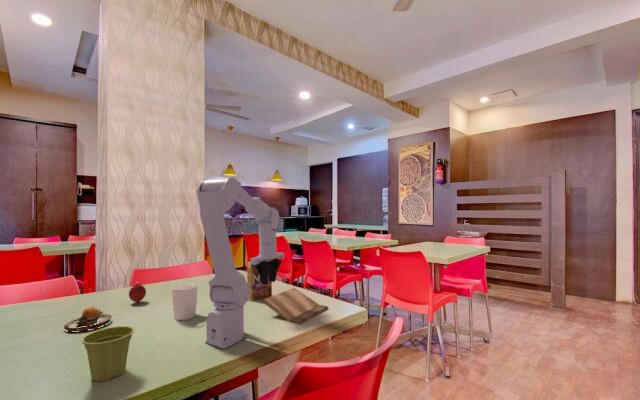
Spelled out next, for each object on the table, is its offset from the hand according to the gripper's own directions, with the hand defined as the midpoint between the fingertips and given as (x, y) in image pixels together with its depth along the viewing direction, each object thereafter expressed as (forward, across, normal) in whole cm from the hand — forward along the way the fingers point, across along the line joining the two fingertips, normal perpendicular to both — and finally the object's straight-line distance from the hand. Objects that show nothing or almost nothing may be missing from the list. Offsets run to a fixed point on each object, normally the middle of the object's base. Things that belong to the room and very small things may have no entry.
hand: (268, 282), depth 103 cm
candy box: (+11, -10, -14) cm, 20 cm away
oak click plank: (+8, -4, +7) cm, 11 cm away
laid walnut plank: (+10, -4, +14) cm, 18 cm away
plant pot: (+11, +46, -5) cm, 47 cm away
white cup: (+11, +16, -23) cm, 30 cm away
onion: (+11, +16, -54) cm, 57 cm away
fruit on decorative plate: (+11, +36, -43) cm, 57 cm away
